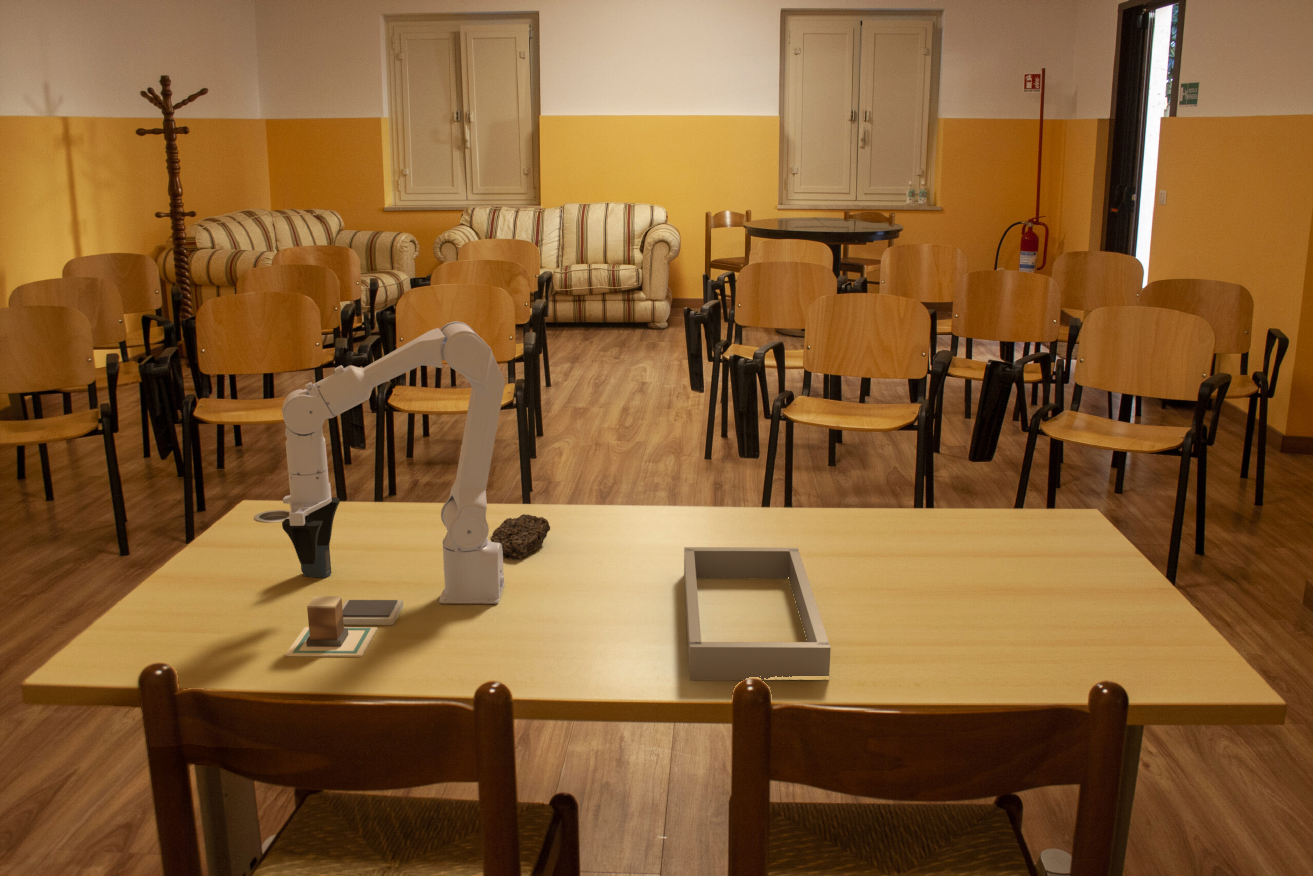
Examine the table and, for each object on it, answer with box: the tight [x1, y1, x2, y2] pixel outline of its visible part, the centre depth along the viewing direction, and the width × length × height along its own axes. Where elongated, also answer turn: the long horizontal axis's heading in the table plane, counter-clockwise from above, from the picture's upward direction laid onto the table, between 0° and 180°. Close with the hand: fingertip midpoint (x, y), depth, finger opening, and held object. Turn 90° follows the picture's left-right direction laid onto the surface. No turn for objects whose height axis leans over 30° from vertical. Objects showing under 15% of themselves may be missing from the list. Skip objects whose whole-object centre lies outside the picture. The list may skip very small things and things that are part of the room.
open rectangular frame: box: [683, 546, 832, 681], centre depth 169 cm, size 19×37×5 cm, turn 0°
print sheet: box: [285, 626, 379, 658], centre depth 162 cm, size 11×9×1 cm
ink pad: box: [342, 599, 404, 626], centre depth 171 cm, size 9×7×1 cm
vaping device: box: [300, 544, 332, 579], centre depth 185 cm, size 3×5×12 cm, turn 78°
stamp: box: [306, 595, 348, 647], centre depth 161 cm, size 5×4×6 cm
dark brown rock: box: [489, 513, 551, 560], centre depth 199 cm, size 12×10×5 cm
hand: (315, 554), depth 170 cm, fingers open, 7 cm apart
